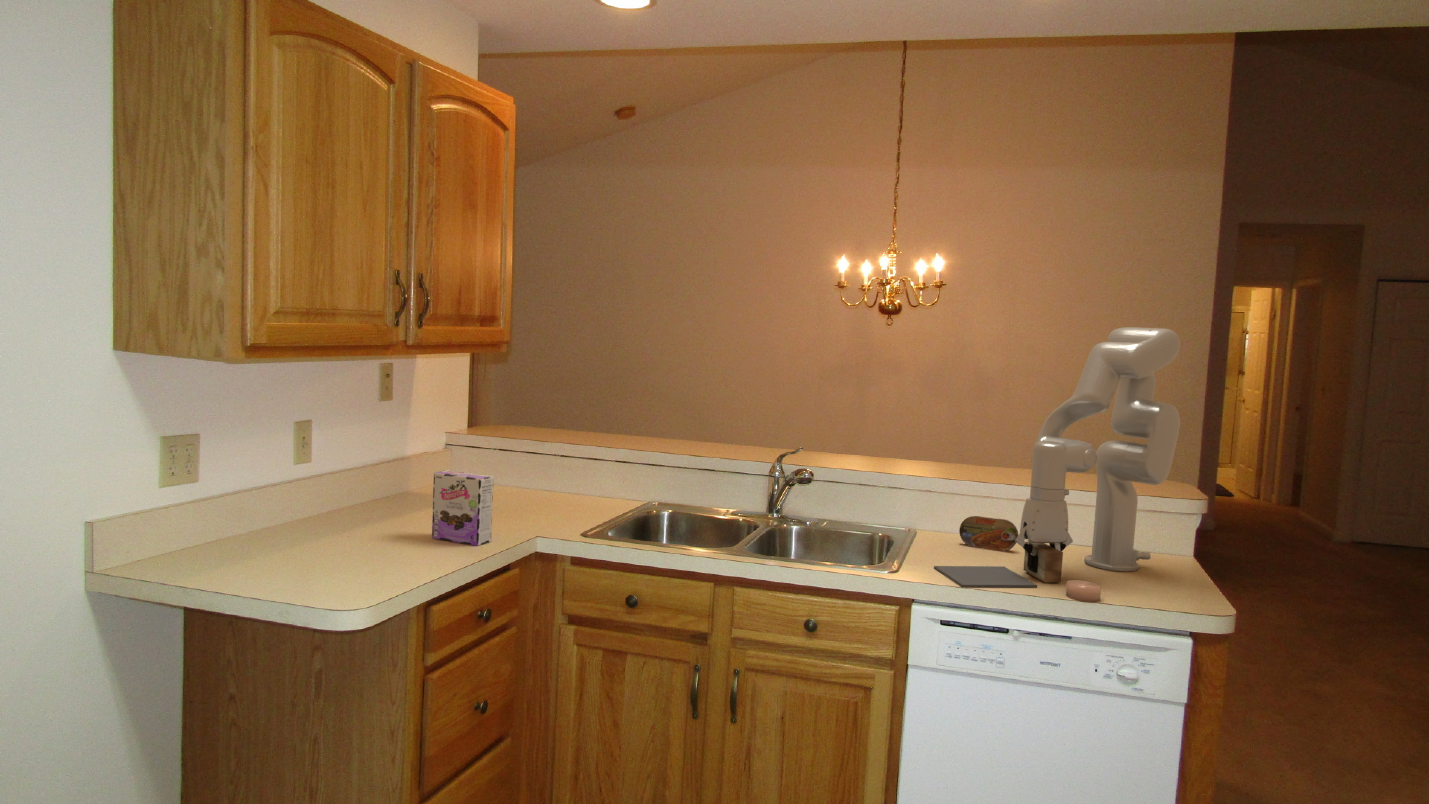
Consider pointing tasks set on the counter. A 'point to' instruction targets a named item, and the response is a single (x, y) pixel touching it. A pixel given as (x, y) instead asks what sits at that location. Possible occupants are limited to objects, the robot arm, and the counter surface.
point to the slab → (1046, 563)
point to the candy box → (462, 507)
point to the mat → (984, 577)
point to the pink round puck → (1083, 591)
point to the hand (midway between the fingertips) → (1042, 570)
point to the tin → (988, 533)
